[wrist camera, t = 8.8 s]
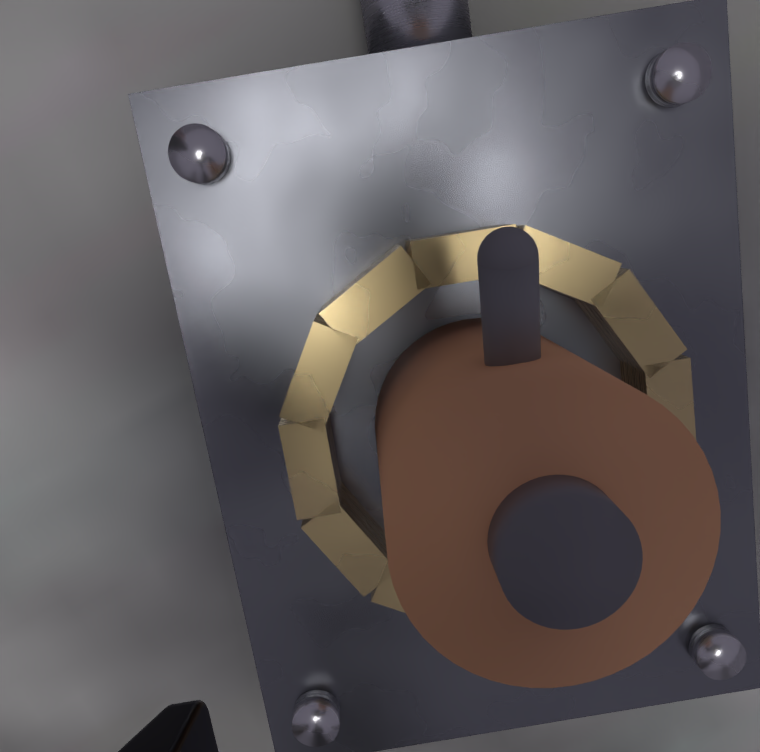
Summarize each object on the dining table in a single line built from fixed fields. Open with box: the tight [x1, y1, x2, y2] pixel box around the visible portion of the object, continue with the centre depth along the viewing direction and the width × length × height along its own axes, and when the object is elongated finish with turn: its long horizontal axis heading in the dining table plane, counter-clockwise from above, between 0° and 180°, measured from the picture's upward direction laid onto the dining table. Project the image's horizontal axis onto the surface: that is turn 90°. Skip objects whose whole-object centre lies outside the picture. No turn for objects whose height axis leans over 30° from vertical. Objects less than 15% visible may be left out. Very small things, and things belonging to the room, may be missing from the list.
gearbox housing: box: [128, 0, 760, 752], centre depth 17 cm, size 20×13×4 cm, turn 9°
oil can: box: [375, 227, 721, 688], centre depth 13 cm, size 7×5×7 cm
